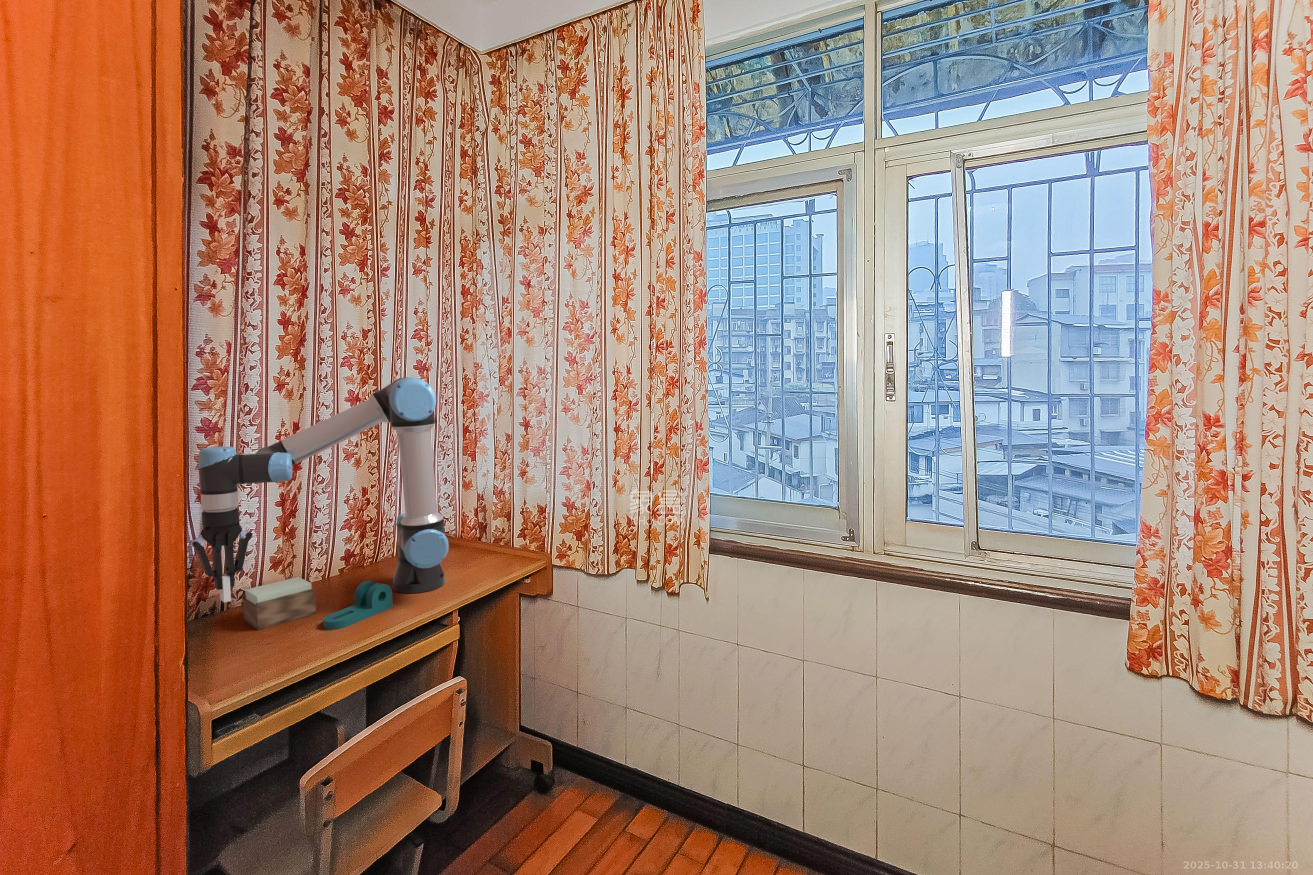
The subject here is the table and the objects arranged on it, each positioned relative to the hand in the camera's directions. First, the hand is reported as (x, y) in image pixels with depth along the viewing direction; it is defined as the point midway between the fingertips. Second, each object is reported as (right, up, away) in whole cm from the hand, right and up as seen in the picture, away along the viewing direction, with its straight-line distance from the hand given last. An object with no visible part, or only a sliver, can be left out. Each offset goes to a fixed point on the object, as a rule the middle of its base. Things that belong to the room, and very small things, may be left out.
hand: (225, 600), depth 151 cm
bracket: (+28, -8, +11) cm, 31 cm away
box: (+7, -7, +10) cm, 15 cm away
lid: (+7, -1, +10) cm, 12 cm away
